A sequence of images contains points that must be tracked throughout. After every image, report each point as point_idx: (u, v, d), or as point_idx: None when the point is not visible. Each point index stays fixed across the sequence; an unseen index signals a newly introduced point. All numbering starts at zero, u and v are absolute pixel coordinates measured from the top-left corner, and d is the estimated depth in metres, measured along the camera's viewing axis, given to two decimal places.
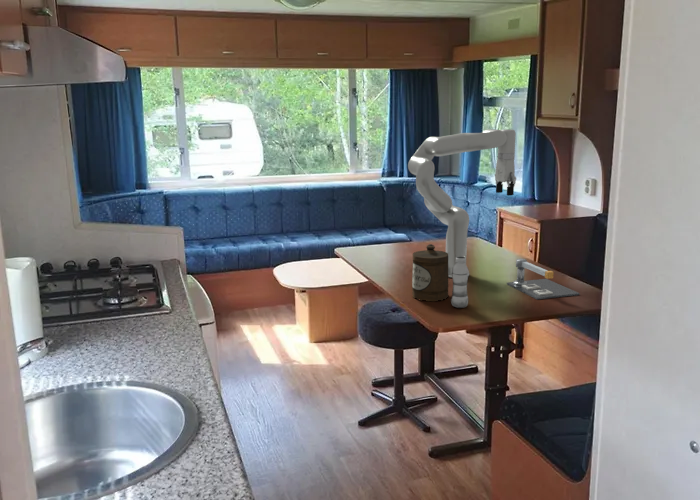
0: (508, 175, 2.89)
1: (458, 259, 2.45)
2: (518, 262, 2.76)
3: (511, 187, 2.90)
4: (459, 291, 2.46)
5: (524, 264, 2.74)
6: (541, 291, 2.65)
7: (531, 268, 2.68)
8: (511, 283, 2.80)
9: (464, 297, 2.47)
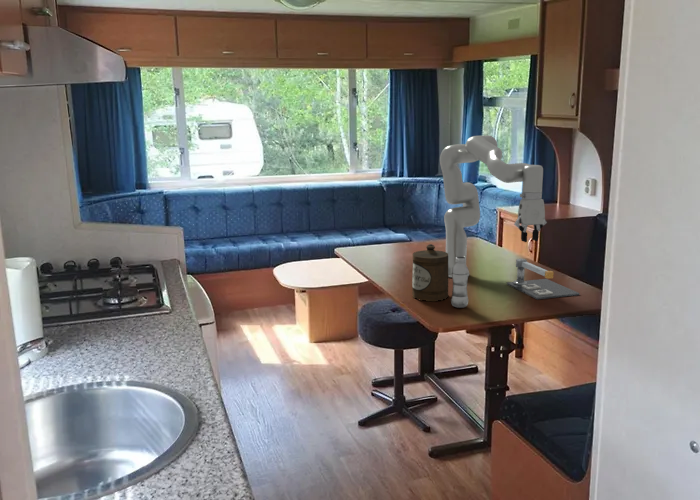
0: None
1: (458, 259, 2.45)
2: (518, 262, 2.76)
3: None
4: (459, 291, 2.46)
5: (524, 264, 2.74)
6: (541, 291, 2.65)
7: (531, 268, 2.68)
8: (511, 283, 2.80)
9: (464, 297, 2.47)
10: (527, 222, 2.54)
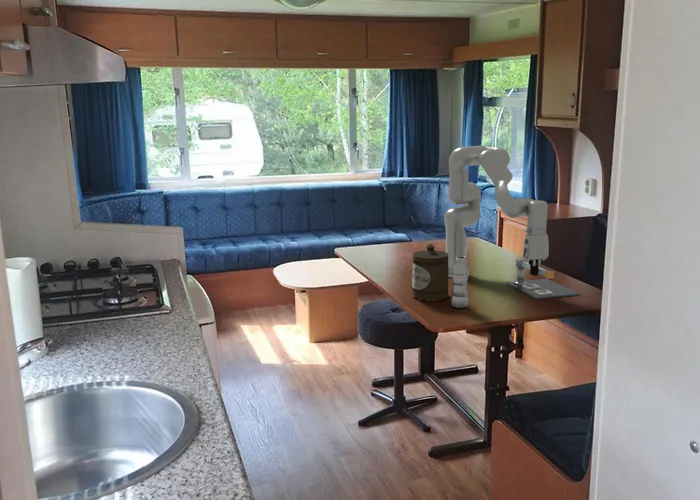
0: None
1: (458, 259, 2.45)
2: (518, 262, 2.76)
3: None
4: (459, 291, 2.46)
5: (524, 264, 2.74)
6: (541, 291, 2.65)
7: None
8: (511, 283, 2.80)
9: (464, 297, 2.47)
10: (533, 257, 2.58)
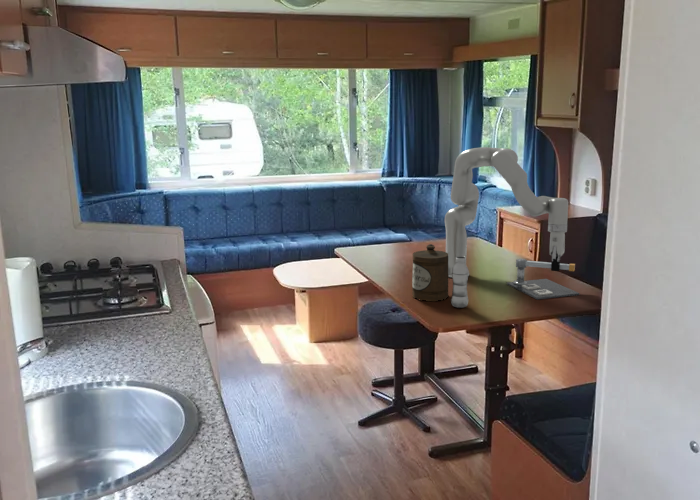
0: None
1: (458, 259, 2.45)
2: (522, 262, 2.75)
3: None
4: (459, 291, 2.46)
5: (530, 263, 2.75)
6: (541, 291, 2.65)
7: (543, 265, 2.73)
8: (511, 283, 2.80)
9: (464, 297, 2.47)
10: (562, 253, 2.64)
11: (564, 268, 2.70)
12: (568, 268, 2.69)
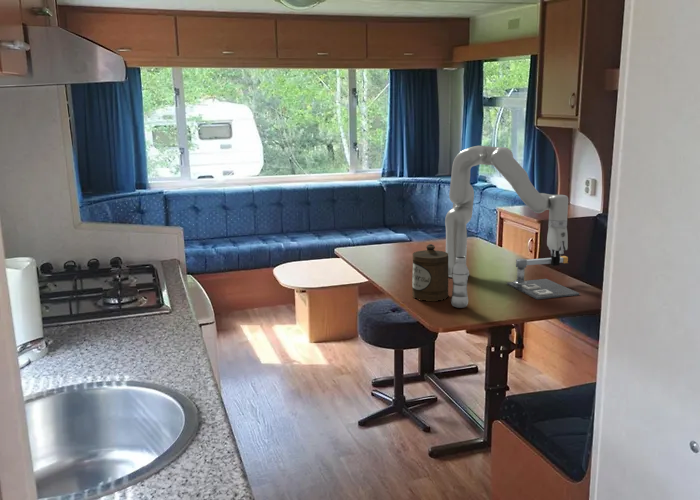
0: None
1: (458, 259, 2.45)
2: (525, 262, 2.76)
3: None
4: (459, 291, 2.46)
5: (530, 262, 2.78)
6: (541, 291, 2.65)
7: (542, 262, 2.79)
8: (511, 283, 2.80)
9: (464, 297, 2.47)
10: None
11: None
12: (562, 261, 2.82)
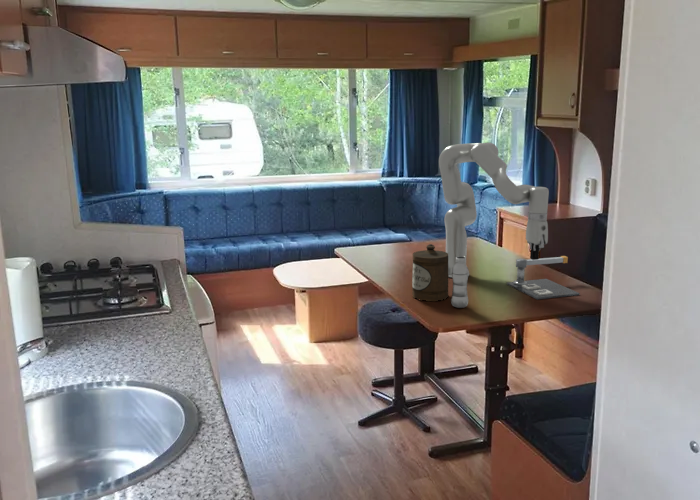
0: None
1: (458, 259, 2.45)
2: (525, 262, 2.76)
3: None
4: (459, 291, 2.46)
5: (530, 262, 2.78)
6: (541, 291, 2.65)
7: (542, 262, 2.79)
8: (511, 283, 2.80)
9: (464, 297, 2.47)
10: None
11: (559, 261, 2.81)
12: (562, 261, 2.82)
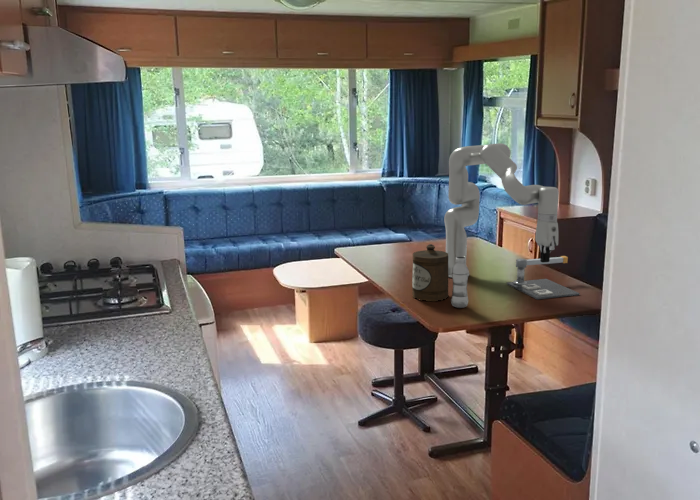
0: None
1: (458, 259, 2.45)
2: (525, 262, 2.76)
3: None
4: (459, 291, 2.46)
5: (530, 262, 2.78)
6: (541, 291, 2.65)
7: (542, 262, 2.79)
8: (511, 283, 2.80)
9: (464, 297, 2.47)
10: None
11: (559, 261, 2.81)
12: (562, 261, 2.82)
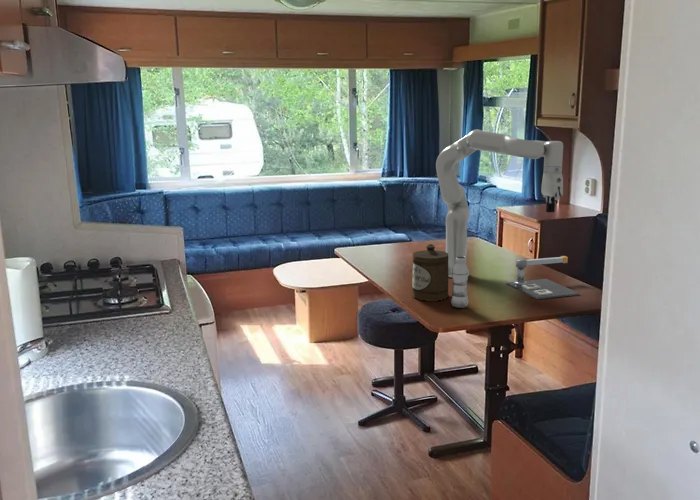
0: None
1: (458, 259, 2.45)
2: (525, 262, 2.76)
3: None
4: (459, 291, 2.46)
5: (530, 262, 2.78)
6: (541, 291, 2.65)
7: (542, 262, 2.79)
8: (511, 283, 2.80)
9: (464, 297, 2.47)
10: None
11: (559, 261, 2.81)
12: (562, 261, 2.82)
